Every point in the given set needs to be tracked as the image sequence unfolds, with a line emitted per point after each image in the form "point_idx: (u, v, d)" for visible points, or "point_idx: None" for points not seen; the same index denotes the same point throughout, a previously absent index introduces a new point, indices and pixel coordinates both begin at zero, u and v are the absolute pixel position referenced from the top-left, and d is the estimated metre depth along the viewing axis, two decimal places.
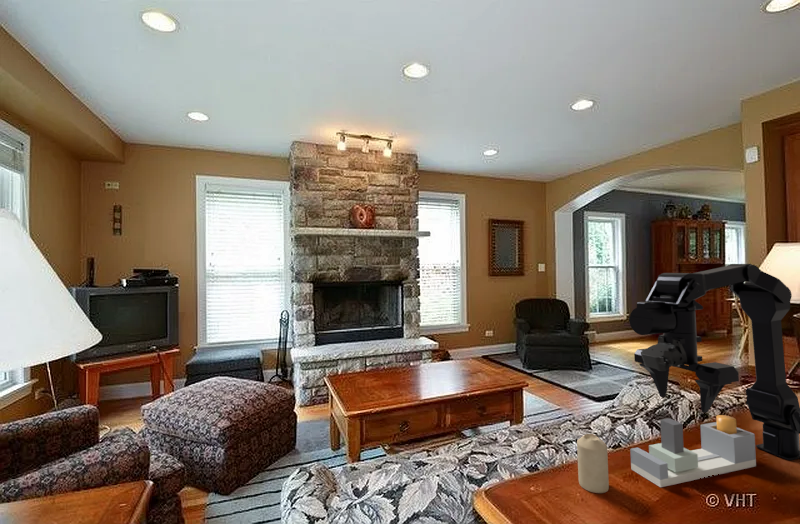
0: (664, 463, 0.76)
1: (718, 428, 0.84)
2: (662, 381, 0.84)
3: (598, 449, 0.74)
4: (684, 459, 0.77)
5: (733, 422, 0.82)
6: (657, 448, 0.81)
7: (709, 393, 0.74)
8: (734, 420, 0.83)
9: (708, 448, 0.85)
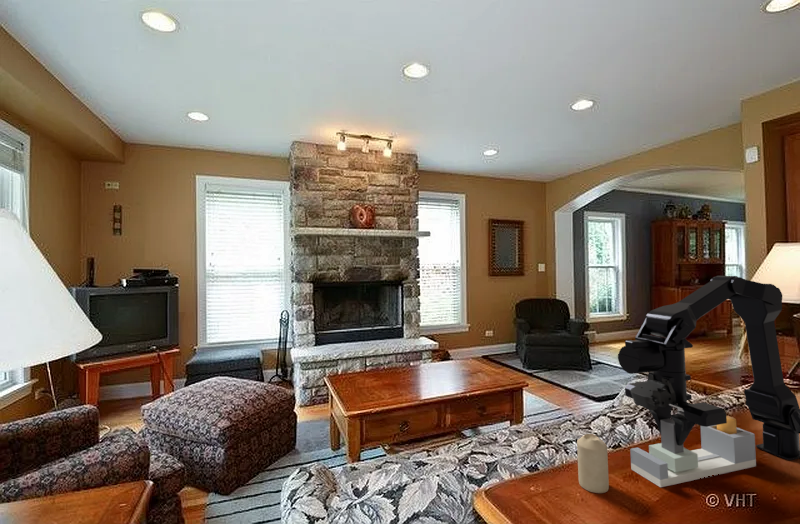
0: (664, 463, 0.76)
1: (718, 428, 0.84)
2: None
3: (598, 449, 0.74)
4: (684, 459, 0.77)
5: (733, 422, 0.82)
6: (657, 448, 0.81)
7: (683, 427, 0.77)
8: (734, 420, 0.83)
9: (708, 448, 0.85)
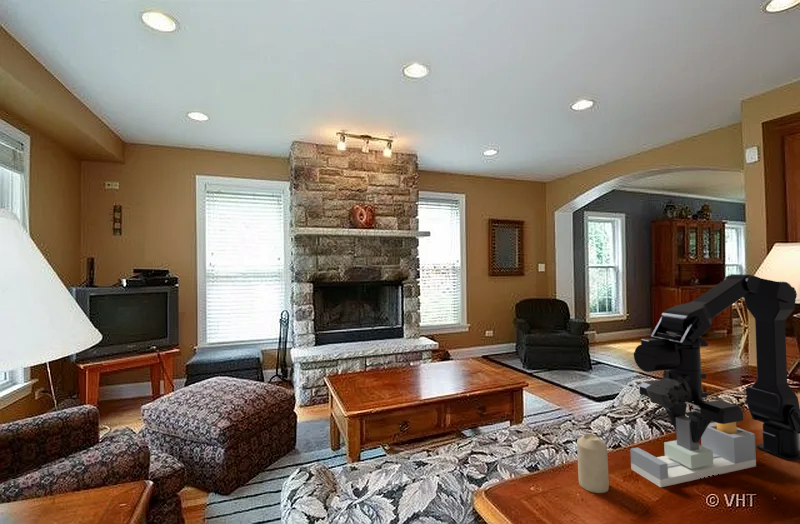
0: (664, 463, 0.76)
1: (718, 428, 0.84)
2: None
3: (598, 449, 0.74)
4: (700, 456, 0.78)
5: (733, 422, 0.82)
6: (672, 445, 0.82)
7: (699, 425, 0.78)
8: None
9: (708, 448, 0.85)
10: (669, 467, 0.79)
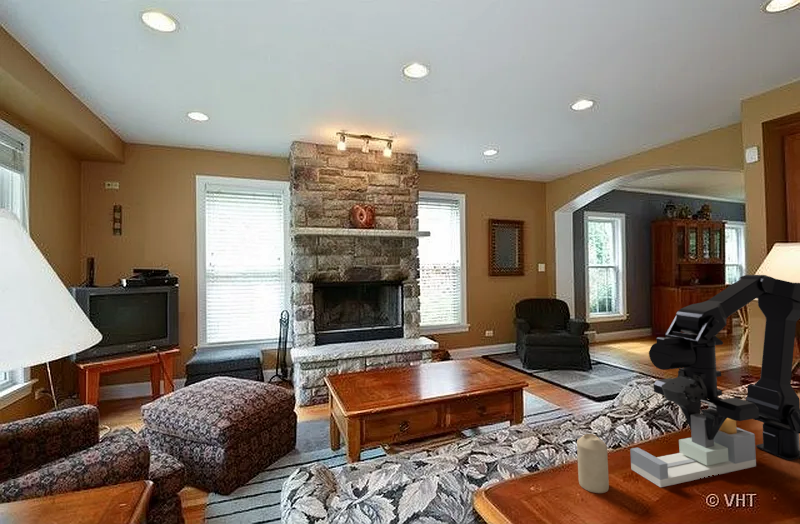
0: (664, 463, 0.76)
1: None
2: None
3: (598, 449, 0.74)
4: (715, 452, 0.79)
5: (733, 422, 0.82)
6: (687, 442, 0.83)
7: (714, 422, 0.79)
8: (734, 420, 0.83)
9: None
10: (669, 467, 0.79)
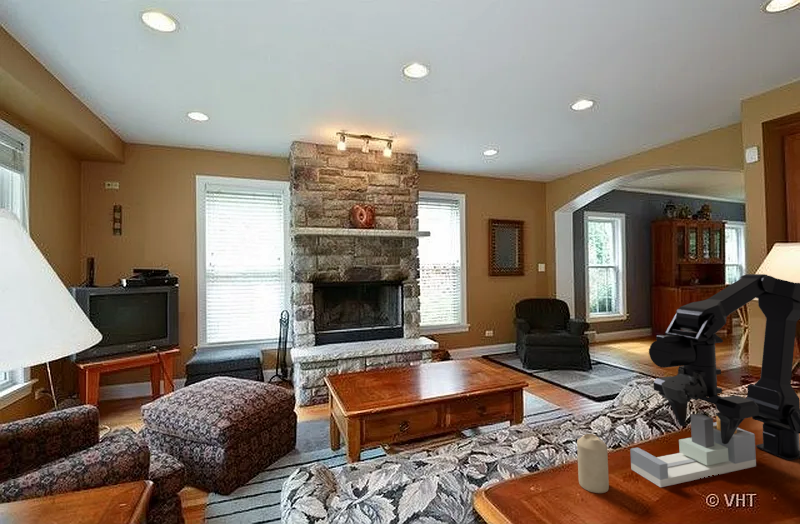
0: (664, 463, 0.76)
1: (718, 428, 0.84)
2: (681, 410, 0.87)
3: (598, 449, 0.74)
4: (715, 452, 0.79)
5: None
6: (687, 442, 0.83)
7: (729, 426, 0.77)
8: None
9: None
10: (669, 467, 0.79)
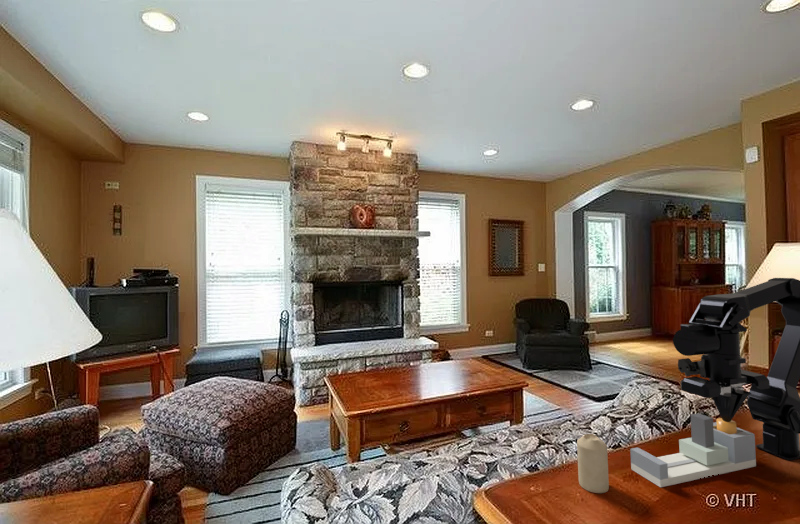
0: (664, 463, 0.76)
1: None
2: None
3: (598, 449, 0.74)
4: (715, 452, 0.79)
5: (733, 425, 0.82)
6: (687, 442, 0.83)
7: (720, 403, 0.84)
8: (734, 423, 0.83)
9: None
10: (669, 467, 0.79)
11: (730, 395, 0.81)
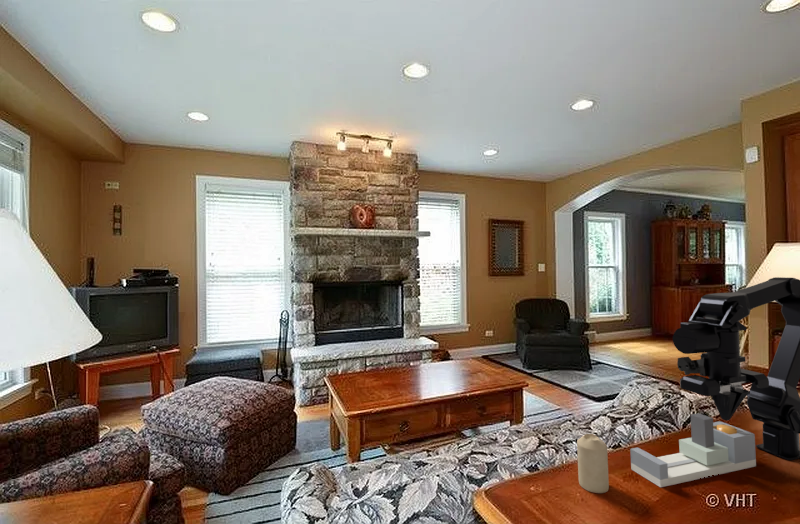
0: (664, 463, 0.76)
1: None
2: None
3: (598, 449, 0.74)
4: (715, 452, 0.79)
5: (733, 432, 0.82)
6: (687, 442, 0.83)
7: (719, 401, 0.84)
8: (734, 430, 0.83)
9: None
10: (669, 467, 0.79)
11: (729, 393, 0.81)
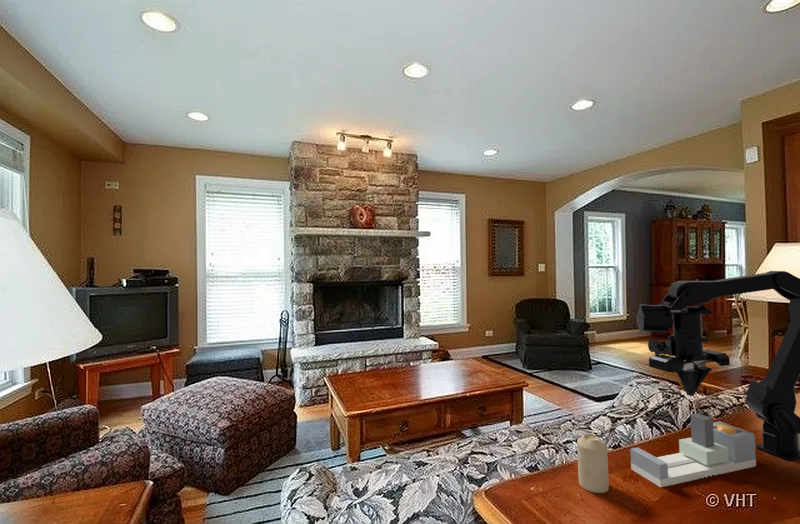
0: (664, 463, 0.76)
1: None
2: None
3: (598, 449, 0.74)
4: (715, 452, 0.79)
5: (733, 432, 0.82)
6: (687, 442, 0.83)
7: (684, 378, 0.92)
8: (734, 430, 0.83)
9: None
10: (669, 467, 0.79)
11: (692, 370, 0.89)
